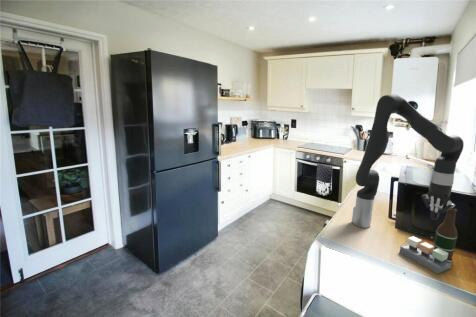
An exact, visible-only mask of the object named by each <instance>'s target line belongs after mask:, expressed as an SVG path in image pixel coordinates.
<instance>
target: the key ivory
mask: <svg viewBox="0 0 476 317" xmlns="http://www.w3.org/2000/svg"><path fill="white" fill-rule="evenodd" d="M406 242H407V243H406V244H407V245H411V246H413V247H415V248H417V247H419V246H420V244H421V243H423V241H422V239H421V238H418V237H415V236H414V235H413V236H410V237H408V238H407V241H406Z"/></svg>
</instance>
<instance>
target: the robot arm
mask: <svg viewBox="0 0 476 317" xmlns="http://www.w3.org/2000/svg"><path fill="white" fill-rule="evenodd" d="M376 103H377V104H376V108H375V113H374V119H373V124H372V126H371V131H370V134H369V137H368V139H367V144H366V147H365V150H364V154H363V157H362V160H361V162H360V164H359V165H358V166H359V167H358V169H357V172H356V176H355V182H356V184H357V186H359V187H362V188H360V189H359V190H357V191H356V198H355V206H354V207H353V210H352V216H351V223H353V225H355V226H356V227H358V228H361V229H363V228H364V229H368V228H370V227H371V223H372V216H373V211H374V210H373V209H374V205H375V197H376V195H377V194H378V193H377V192H378V189H379V183H380V174H379V172H378V171H377V170H376V169H375V170H374V169H372V167H373V166H374V164H375V163H376V162H377V161H378V160H379V159H380V158H381V157H382V156H383V155H384V154H385V151H386V149H387V146H388V145H389V144H388V143H389V138H390V136H389V132H388V130H389V129H388V123H389V120H390V117H391V115H392V114H396V115H398V116H400V117H402V118H403V119H404V120H406V121H407V122H408V124H409V126H410V127H411V128H412V130H413V131H415V132H416V133H417V134H419V135H420V136H421V137H423V138H424V139H425V140H427V142H428V143H429V144H430V145H431V146H432V147H433V148H434V149H435V150H436V151H438V152H439V153H440V156H438V157H437V158H436V160H435V161H434V165H433V171H432V173H431V177H430V181H429V187H428V191H427V193H426V194H422V195H421V199H422V201H423V203H424V205H425V207H426V208H427V209H429V210H430V212H429V217H430V219H431V220H432V221H433V220H434V221H436V220H438V219H439V218H440V214H441V213H442V214H443V213H447V210H449V209H451V208H455V207H456V204H455V203H453V202H452V201H451V193H452V189H453V185H454V180H455V171H456V169H457V168H456V166H457V163H458V161H459V159H460V157H461V155H462V152H463V150H464V139H463V138H461V137H460V136H459V135H454V134H453V135H449V134H448V135H447V134H446V133H444V132H443V131H442V130H443V129H442V127H441V126H439V125H438V124H437V123H436V122H434V121H432V120H431V119H429V118H428V117H426V116H425V115H423V114H422V113H421V112H419V111H418V110H417V109H416V108H414V107H413V106H412V105H411V104H410V103H409V102H408V101H407V100H406V99H405V98H404V96H402V95H399V94H385V95H383V96H381V97H380V98H379V99H378V101H377V102H376ZM444 205H446V206H444Z"/></svg>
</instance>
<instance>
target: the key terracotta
mask: <svg viewBox="0 0 476 317" xmlns="http://www.w3.org/2000/svg"><path fill="white" fill-rule="evenodd" d="M434 247H435V246H433V244H431V243H428V242H426V241H424V242H422V243H421V244H420V247H419V250H421V251H423V252H425V253H426V254H430V253H432V252H433V250H434Z"/></svg>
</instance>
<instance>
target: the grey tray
mask: <svg viewBox="0 0 476 317" xmlns="http://www.w3.org/2000/svg"><path fill="white" fill-rule="evenodd" d="M419 247H420V246H419ZM419 247H417V248H415V247H413V246H411V245H409V244H407V245H400V246H399V253H401V254H402V255H404V256H406V257H408V258H409V259H412V260H413V261H415V262H416V263H418V264H420V265H421V266H423V267H425V268H426V269H430V270H431V271H433V272H435V273H436V274H440V273H443V272H445V271H446V270H449V269H451V268H452V267H451V265H452V260H450V259H446V260H444V261H440V260H438V259H436V258H434V257H432V253H430V254H426V253H425V252H423V251H421V250H419Z"/></svg>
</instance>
